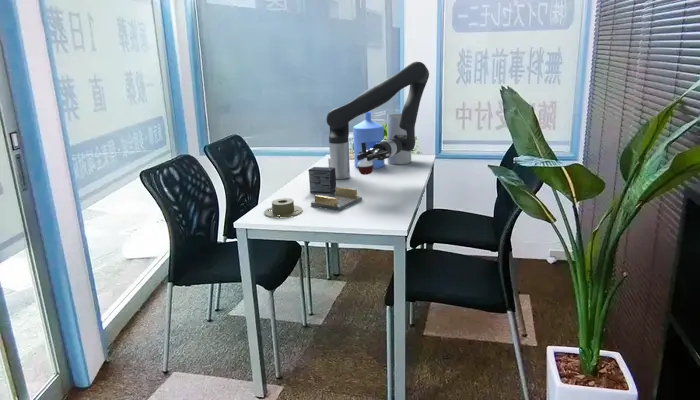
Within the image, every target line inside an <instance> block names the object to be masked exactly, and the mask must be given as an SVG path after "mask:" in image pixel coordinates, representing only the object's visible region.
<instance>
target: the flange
mask: <svg viewBox="0 0 700 400" xmlns="http://www.w3.org/2000/svg"><path fill="white" fill-rule="evenodd" d="M303 209H304V208H302V207H301V206H299V205H295V202H294V199H292V198H277V199H274V200H272V201H271V207H268V208H267V209H265V210H264V211H263V214H265V215H266V216H265V215H264V216H265V217H267V216H269V217H268V218H271V217H279V218H278V219H281V218H280V217H287V218H292V217H291V216H293V217H295V215H296V216H298V214H299V215H301V214H302V213H303ZM269 210H272V211H269ZM296 211H299V212H296ZM301 212H302V213H301ZM300 213H301V214H300ZM277 215H280V216H277Z"/></svg>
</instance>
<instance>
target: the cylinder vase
mask: <svg viewBox="0 0 700 400" xmlns="http://www.w3.org/2000/svg"><path fill="white" fill-rule="evenodd" d="M401 114H402V113H392V114H391V113H389V114H387V115H386V134H387V135H386V137H387V138H386V140H389V139H391V138H392V137H393V136H394V135H396V134H401V135H407V132H406V130H403V129H401V128H400V127H399V124H400V119H401ZM387 163H388V164H390V165H398V166H399V165H409V164H410V163H412V151H402V150H401V151H400V152H399V153H397V154H395V155H393V156H391V157H389V158H387Z"/></svg>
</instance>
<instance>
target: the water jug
mask: <svg viewBox="0 0 700 400" xmlns="http://www.w3.org/2000/svg"><path fill="white" fill-rule="evenodd" d="M371 113H372V112H371V111H369V112H366V113H364V120H362V121H361V122H359V123H357V124H356V125H354V126H353V129H352V135H353V151H354V154H353V155H354V166H355V168H357V169H358V165H357V164H358V162H360V161H361V160H362V159H361V160H358V159H357V155H358V154H359V151H360V150H362V144H361V143H362V142H365V143H366V150H369V149H371V148H372V147H373V146H374V145H375V144H376V143H379V142H382V141H384V133H385V130H384V126H383V125H382V124H381V123H378V122H376V121H374V120H372V114H371ZM372 162H373V170H375V169H380V168H383V167H384V166H385V159H384V160H377V159H376V160H372Z"/></svg>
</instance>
